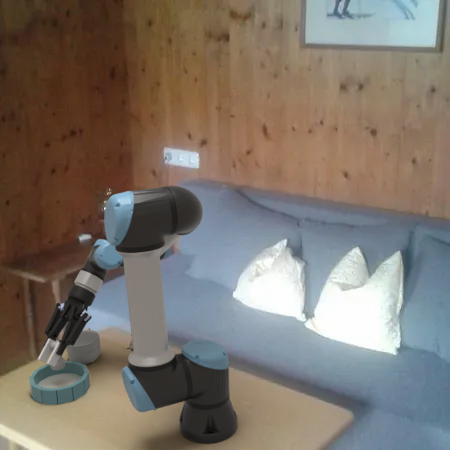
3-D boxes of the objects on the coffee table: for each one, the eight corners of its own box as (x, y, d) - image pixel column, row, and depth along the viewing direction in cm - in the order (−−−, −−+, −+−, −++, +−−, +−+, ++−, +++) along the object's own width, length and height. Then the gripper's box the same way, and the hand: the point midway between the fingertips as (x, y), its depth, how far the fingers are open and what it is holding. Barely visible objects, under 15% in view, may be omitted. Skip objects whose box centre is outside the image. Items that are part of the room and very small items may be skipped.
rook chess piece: (47, 369, 191) (44, 344, 188) (56, 361, 195) (53, 337, 192) (60, 371, 189) (57, 346, 187) (69, 364, 193) (66, 339, 191)
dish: (101, 384, 195) (99, 371, 194) (56, 411, 182) (55, 396, 181) (64, 368, 204) (62, 355, 203) (19, 392, 192) (18, 379, 191)
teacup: (94, 369, 203) (91, 346, 201) (61, 366, 206) (58, 343, 203) (110, 347, 216) (108, 325, 214) (79, 345, 218) (76, 323, 216)
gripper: (111, 300, 193) (73, 375, 186) (74, 288, 203) (36, 359, 195) (96, 290, 188) (56, 367, 180) (58, 278, 197) (19, 350, 190)
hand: (46, 362), depth 188 cm, fingers closed on rook chess piece, 3 cm apart
